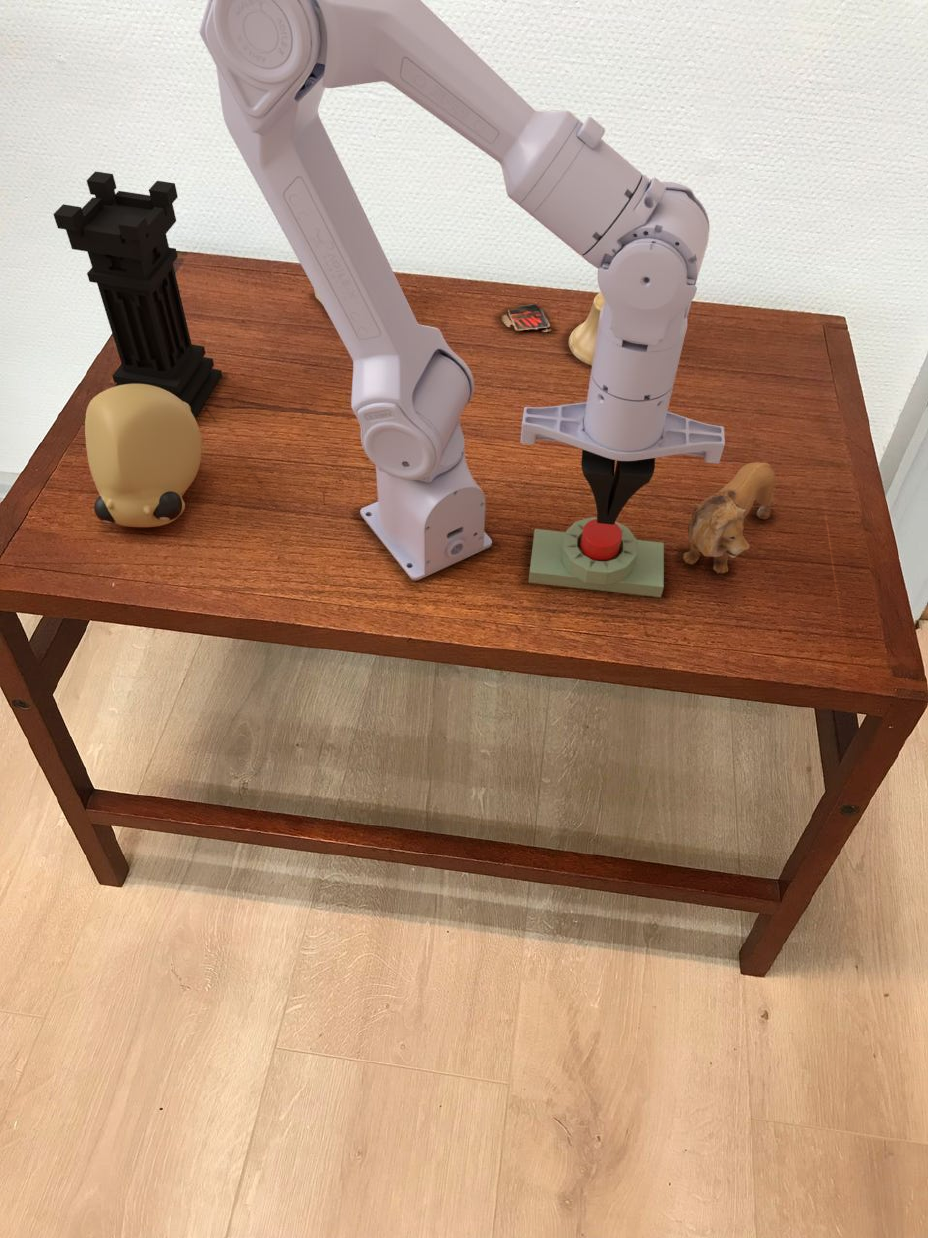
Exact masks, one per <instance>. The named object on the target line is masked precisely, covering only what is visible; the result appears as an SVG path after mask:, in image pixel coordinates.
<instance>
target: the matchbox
mask: <svg viewBox="0 0 928 1238" xmlns="http://www.w3.org/2000/svg"><path fill="white" fill-rule="evenodd" d="M507 312H508V314H504V315H502V316H501V318H500V319H501V322H503V324H504V325H505V326H506V327H507V328H511V326H513V327H514V330H515V331H524V330H528V331H529V330H538V329H544V328H545V329H544V330H542V331H541V332H542V333H548V332H551V331H553V329H552V328H550V329H549V327H550V325H551V323H550V322H549V319H548V318H547V316H546V315H545V312H544V310H543V309H542V308H540V307H539V306H538V305H537V304H536V303H534V304H533V303H531V304H523V305H519V306H518V305H517V306H515V307H513V308H510V309H507Z"/></svg>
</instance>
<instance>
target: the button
mask: <svg viewBox="0 0 928 1238" xmlns="http://www.w3.org/2000/svg"><path fill="white" fill-rule="evenodd" d="M621 539H622V531H621V529H620V527H619V526H618V525H617V524H616V523H615V524H614V525H611V524H601V523H597V519H594V520H591V521H589V522H588V523H586V525H585V526H584V528H583V532H582V538H581V544H580V546H581V550H582V551H583V553H584V554H585V555H586V556H587V557H589V558H591V559H593V560H597V561H607V560H610V559H612V558H614V557H615V556H616V555H617V554H618V552H619V548H620V544H621Z"/></svg>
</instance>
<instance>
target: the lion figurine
mask: <svg viewBox="0 0 928 1238" xmlns="http://www.w3.org/2000/svg"><path fill="white" fill-rule="evenodd" d="M775 486H776V473H775V471H774V470H773V469H772V466H771V464H770V463H768V462H759V461H754V462H750V463H747V464H745V465H743V466H742V467H740V468H739V470H738V471H737V472H736V474H735V475H734V477H733V478H732V479H731V480H730V481H729V482H728V483H727V484H726V485H725V486H723V488H721V489H720V490H719V491H718V492H717V493H714V494H711V495H709V496H707V498H706V499H704V500H702V501H701V502H700V503H699V504H698V505H697V506H695V507H694V509H693V510H694V511H693V512H692V513H691V517H690V519H689V522H688V526H687V538H688V540H689V542H690V543H689V551H686V552H684V553H683V554H682V560H683V561H684V563H686V564H688V565H694V564H696V563H697V561H698V560H699V559H700V554H702V555H703V556H704V557H706V558H707V557H708V558H709V557H710V558H711V557H713V565H712V567H713V568H712V569H713V571H715V572H716V573H717V574H725V573H728V571H729V567H728V560H729V558H731V559H734V558H736V557H738V556H739V554H742V553H743V552H744V551H748V549H750V544H749V542H748V541H747V540H746V538H745V536H744V535H743V534H744V529H745V527H744V525H745V522H744V520H745V519H746V517H747V516H748V514H749V513H750V511H751V509H752V507H753V505H754V502H756V503H758V504H759V505H760V507H759V508H758V509H757V511H756V516H757V517H758V519H761V520H768V519H769V518H770V516H771V510H772V506H773V504H774V502H775V496H774V492H775V488H776V487H775Z"/></svg>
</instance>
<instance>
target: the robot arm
mask: <svg viewBox="0 0 928 1238" xmlns="http://www.w3.org/2000/svg"><path fill="white" fill-rule="evenodd" d="M199 36H200V37H201V39H202V42H203V43H204V45H205V47H206V49H207V51H208V53H209V54H210V56H211V58H212V60H213V63H214V65H215V67H216V74H217V82H218V89H219V95H220V96H219V97H220V103H221V110H222V117H223V121H224V124H225V126H226V128H227V130H228V133H229V135H230V137H231V138H232V140H233V142H234V144H235V145H236V147H237V149H238V151H239V153H240V155H241V156H242V158H243V160H244V162H245V164H246V166H247V168H248V169H249V171H250V173H251V175H252V177H253V178H254V180H255V181H254V182H256V185H257V186H258V188H259V189H260V192H261V194H262V195H263V197H264V199H265V201H266V203H267V204H268V206H269V209H270V210H271V212H272V214H273V215H274V217H275V219H276V221H277V223H278V225H279V227H280V228H281V230H282V232H283V234H284V236H285V238H286V240H287V241H288V243H289V245H290V247H291V249H292V251H293V252H294V255H295V256H296V258H297V260H298V262H299V264H300V266H301V267H302V270H303V271H304V273H305V275H306V277H307V279H308V280H309V282H310V284H311V286H312V288H313V290H314V289H315V290H314V292H315V291H316V293H317V295H318V297H319V299H320V300H321V302H322V303H321V302H320V303H321V305H322V306H323V308H324V310H325V312H326V313H327V315H328V317H329V319H330V321H331V323H332V324H333V326H334V328H335V330H336V332H337V333H338V336H339V337H340V339H341V341H342V343H343V345H344V346H345V348H346V350H347V352H348V354H349V356H350V358H351V360H352V365H353V366H352V367H353V368H352V383H351V398H350V399H351V400H350V401H351V402H350V404H351V405H350V407H351V410H352V412H353V413H354V415H355V417H356V419H357V420H358V424H359V428H360V443H361V446H362V449H363V451H364V453H365V455H366V457H368V459H369V460H370V461H371V463H373V465H374V466H375V476H376V490H377V501H376V502H373V503H370V504H369V505H365V506H364V507H361V509H360V510H359V512H360V513H359V514H360V516H361V518H362V519H363V520H364V521H365V523H366V524H367V525H368V526H369V528H370V529H371V530H372V532H373V533H374V534H375V535H376V537H377V538H378V539H379V540H380V542H382V544H383V546H385V548H386V549H387V550H388V551H389V553H390V554H391V555H392V557H393V558H394V559H395V561H396V562H397V563H398V564H399V566H400V567H401V568H402V569H403V571H404V572H405V573H406V574H407V576H408V577H409V578H410V579H411V580H412V581H420V580H423V579H424V578H426V577H428V576H430V575H433V574H435V573H437V572H439V571H441V570H444V569H446V568H448V567H450V566H452V565H454V564H457V563H459V562H461V561H463V560H465V559H467V558H469V557H470V558H471V556H473V555H476V554H479V553H480V552H482V551H485V550H486V549H490V548H491V547H492V545H493V540H492V538H491V537H490V536H489V535H488V533H486V531H485V527H486V526H485V524H486V510H487V507H486V506H487V499H486V495H485V493H484V491H483V489H482V487H480V486H479V484H478V482H476V480H475V479H474V477H473V475H472V472H471V471H470V469H469V466H468V462H467V458H466V450H465V446H466V445H465V443H466V442H465V436H464V433H463V429H462V426H461V423H460V421H461V420H460V419H461V417H462V414H463V412H464V410H465V409H466V407H467V406H468V405H469V403H470V402H471V400H472V398H473V396H474V393H475V379H474V376H473V373H472V371H471V369H470V367H469V366H468V364H467V363H466V362H465V361H464V359H462V358H461V357H460V356H459V355H458V354H457V353H455V352H454V350H452V348H451V347H450V346H449V344H448V343H447V341H446V340H445V337H444V335H443V333H442V331H441V330H440V329H439V328H438V327H435V326H434V327H433V326H430V325H423V324H419V323H418V321H417V319H416V316H415V314H414V313H413V310H412V308H411V305H410V304H409V302H408V300H407V298H406V296H405V294H404V292H403V289H402V287H401V284H400V282H399V281H398V278H397V277H396V275H395V273H394V270H393V268H392V267H391V264H390V262H389V260H388V258H387V256H386V253H385V252H384V249H383V247H382V245H381V243H380V241H379V239H378V237H377V235H376V233H375V231H374V228H373V227H372V224H371V222H370V220H369V218H368V216H367V214H366V212H365V210H364V208H363V206H362V203H361V201H360V199H359V197H358V194H357V193H356V191H355V189H354V187H353V185H352V182H351V180H350V178H349V177H348V173H347V172H346V170H345V168H344V166H343V164H342V161H341V160H340V157H339V155H338V154H337V151H336V149H335V147H334V145H333V143H332V140H331V138H330V137H329V134H328V132H327V130H326V128H325V125H324V124H323V122H322V120H321V117H320V116H319V115H320V114H319V107H320V104H321V101H322V98H323V95H324V92H325V89H335V88H342V87H343V88H344V87H352V86H358V85H366V84H372V83H381V82H384V83H387V84H389V85H390V86H392V87H394V88H395V89H396V90H398V91H399V92H401V93H402V94H403V95H405V96H406V97H407V98H409V99H410V100H412V102H414V103H415V104H417V105H419V106H420V107H421V108H423V109H424V110H426V111H427V112H428V113H430V114H431V115H432V116H434V117H435V118H437V119H438V120H439V121H440V122H442V123H443V124H445V125H446V126H448V127H449V128H451V129H452V130H453V131H454V132H456V133H457V134H459V135H460V136H461V137H463V138H464V139H466V141H468V142H470V143H471V144H472V145H474V146H475V147H477V148H478V149H479V150H481V151H482V152H484V153H485V154H486V155H488V156H489V157H491V159H493V160H495V161H496V162H497V163H499V165H500V168H501V170H502V176H503V181H504V186H505V191H506V195H507V197H508V198H509V199H510V200H511V201H512V202H514V203H515V204H517V205H518V206H519V207H520V208H522V209H523V210H524V211H525V212H526V213H528V214H529V215H530V216H531V217H532V218H534V219H535V220H536V221H537V222H538V223H540V224H541V225H542V226H543V227H545V229H547V230H549V231H550V232H551V233H553V235H555V236H556V237H557V238H559V240H561V241H562V242H563V243H564V244H566V245H567V246H568V247H569V248H571V249H572V250H573V251H574V252H575V253H577V255H579V256H580V257H581V258H583V259H584V260H585V261H586V262H587V263H588V264H590V265H592V266H593V267H594V268H596V269H597V273H596V274H597V275H596V276H597V284H598V287H599V291H600V292H601V293H602V295H603V297H604V299H605V302H604V306H603V307H602V309H601V312H600V316H599V323H598V330H597V337H596V343H595V350H594V357H593V363H592V366H591V369H590V376H589V383H588V389H587V396H586V401H584V402H583V401H582V402H576V403H567V404H560V405H552V406H524V408H523V413H522V414H523V415H522V420H521V432H520V444H522V445H530V446H533V445H535V444H536V440H538V441H548V442H556V443H557V442H559V443H563V444H566V445H569V446H572V447H575V448H578V449H581V450H582V451H581V460H580V461H581V463H580V466H581V471H582V475H583V477H584V478H585V480H586V481H587V483H588V485H589V487H590V490H591V493H592V494H593V498H594V502H595V507H596V513H597V514H596V517H597V523H601V524H611V525H614V524H615V521H616V522H617V519H618V517H619V515H620V513H621V512H622V510H623V509H624V507H625V506H626V504H627V503H628V502H629V500H630V499H631V498H632V497H633V496H634V495H635V494H636V493H637V492H638V491H639V490H640V489H641V488H642V487H644V486H645V485H647V484H649V483H650V481H651V480H652V478H653V476H654V474H655V469H656V459H657V458H663V457H671V456H677V455H678V456H679V455H686V456H696V457H703V461H704V462H705V463H707V464H717V465H719V464H720V462H721V458H722V455H723V452H724V449H725V445H726V439H725V426H723V425H716V424H709V423H705V422H702V421H698V420H695V419H692V418H689V417H686V416H683V415H680V414H677V413H674V412H671V411H669V407H670V402H671V398H672V393H673V388H674V385H675V381H676V377H677V373H678V367H679V364H680V359H681V355H682V352H683V346H684V343H685V342H684V341H685V337H686V334H687V329H688V315H689V313H690V310H691V305H692V302H693V300H694V298H695V295H696V293H697V290H698V288H697V287H698V286H696V285H697V281H698V279H699V278H698V277H699V274H700V271H701V267H702V265H703V261H704V257H705V254H706V251H707V248H708V244H709V239H710V219H709V216H708V213H707V211H706V209H705V206H704V205H703V204H702V202H701V201H700V200H699V199H698V198H697V197H696V195H695V193H694V191H693V189H691V188H689V187H688V186H686V185H684V184H681V183H677V182H672V181H660V180H659V179H658V178H657V177H653V178H652V179H650V178H649V177H648V176H646V175H644V174H642V172H640V170H639V169H638V168H636V167H635V166H634V165H633V164H631V163H630V162H629V161H628V160H627V159H626V158H625V157H623V156H622V155H621V154H620V153H618V152H617V151H616V150H615V149H614V148H613V147H612V146H611V145H609V143H607V142H606V141H604V140H603V136H604V135H605V133H606V129H605V128H604V126H602V125H601V124H600V123H599V122H598V121H597V120H595V119H594V118H593V117H592V116H588V117H586V119H585V120H584V121H582V120H580V119H579V118H578V117H576V115H574V114H573V113H572V112H571V111H570V110H567V109H559V110H542V111H540V110H536V109H534V108H533V106H531V105H530V103H528V102H527V101H526V100H525V99H524V98H523V97H522V96H520V94H518V93H517V91H515V89H514V88H513V87H512V86H510V85H509V84H508V83H507V82H506V81H505V80H504V79H503V78H502V77H501V76H500V75H499V73H497V72H496V71H495V70H494V69H492V67H491V66H489V64H487V62H485V60H483V59H482V57H480V56H479V55H478V54H477V53H476V52H475V51H474V49H472V48H471V47H470V46H469V45H468V44H467V43H466V42H464V41H463V39H462V38H461V37H459V36H458V34H456V32H454V30H452V29H451V28H450V27H449V26H448V25H447V24H446V23H445V22H444V21H443V20H442V19H441V18H440V17H438V15H437V14H436V13H434V12H433V11H432V10H431V9H430V8H429V7H428V6H427V5H426V4H425V3H424V1H422V0H207V2H206V6H205V10H204V13H203V17H202V20H201V23H200V27H199Z"/></svg>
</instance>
